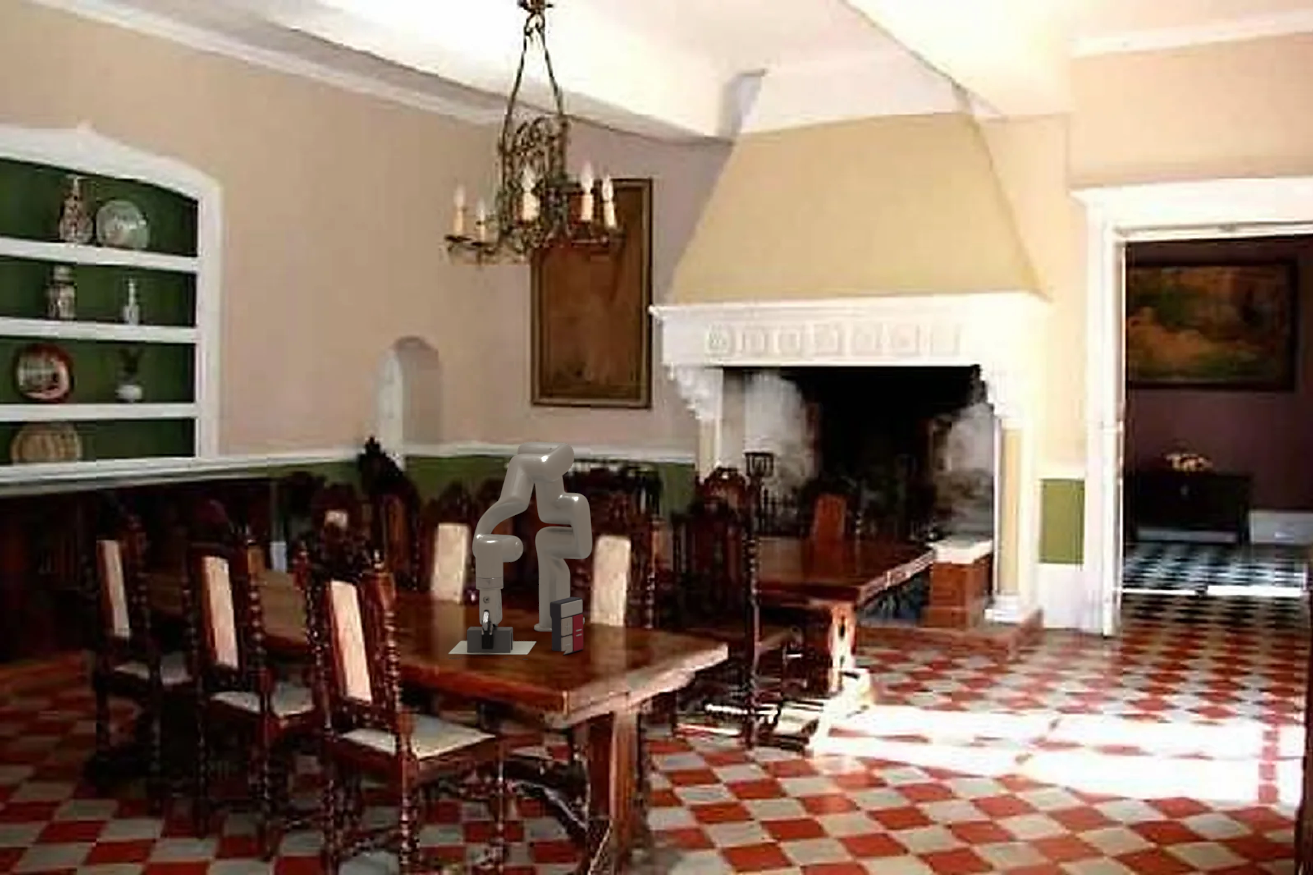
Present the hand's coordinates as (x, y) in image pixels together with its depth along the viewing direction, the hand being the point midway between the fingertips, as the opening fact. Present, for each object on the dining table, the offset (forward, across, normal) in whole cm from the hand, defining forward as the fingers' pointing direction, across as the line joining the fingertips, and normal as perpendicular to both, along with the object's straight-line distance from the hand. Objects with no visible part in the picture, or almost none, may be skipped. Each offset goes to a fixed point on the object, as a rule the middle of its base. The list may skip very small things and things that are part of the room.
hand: (490, 645), depth 389 cm
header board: (+3, +5, 0) cm, 6 cm away
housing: (+1, 0, 0) cm, 1 cm away
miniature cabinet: (+3, +6, -21) cm, 22 cm away
